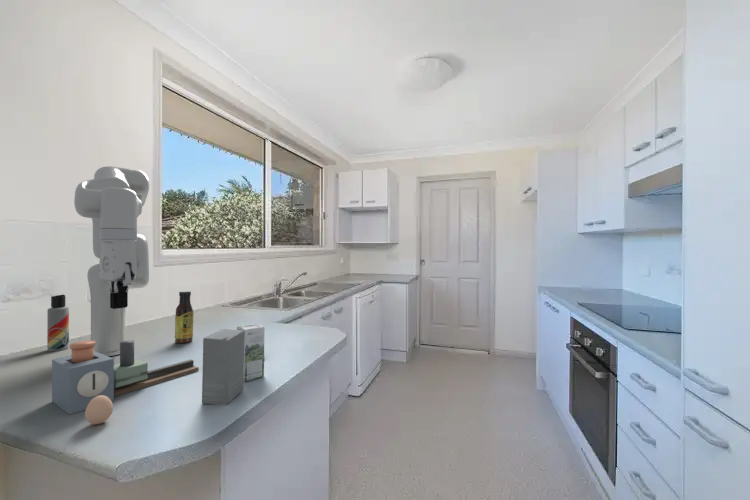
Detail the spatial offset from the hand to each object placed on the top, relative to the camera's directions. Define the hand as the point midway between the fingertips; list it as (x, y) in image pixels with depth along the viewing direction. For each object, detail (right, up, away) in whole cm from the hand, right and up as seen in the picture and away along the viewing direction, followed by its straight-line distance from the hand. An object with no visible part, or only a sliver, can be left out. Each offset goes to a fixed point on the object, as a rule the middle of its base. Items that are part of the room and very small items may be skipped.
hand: (119, 307), depth 85 cm
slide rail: (+4, -21, +7) cm, 23 cm away
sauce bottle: (-10, -22, +46) cm, 52 cm away
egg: (+9, -21, -16) cm, 28 cm away
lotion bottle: (-50, -22, +36) cm, 66 cm away
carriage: (+1, -19, +1) cm, 19 cm away
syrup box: (+30, -21, +9) cm, 38 cm away
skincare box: (+29, -21, -5) cm, 36 cm away
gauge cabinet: (-4, -21, -6) cm, 22 cm away
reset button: (-4, -11, -6) cm, 13 cm away
